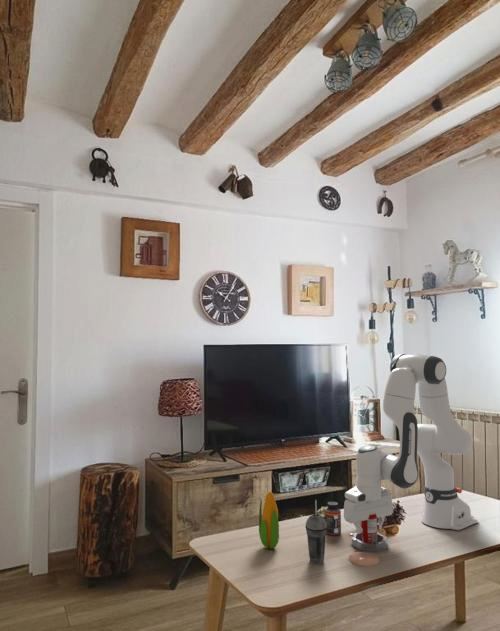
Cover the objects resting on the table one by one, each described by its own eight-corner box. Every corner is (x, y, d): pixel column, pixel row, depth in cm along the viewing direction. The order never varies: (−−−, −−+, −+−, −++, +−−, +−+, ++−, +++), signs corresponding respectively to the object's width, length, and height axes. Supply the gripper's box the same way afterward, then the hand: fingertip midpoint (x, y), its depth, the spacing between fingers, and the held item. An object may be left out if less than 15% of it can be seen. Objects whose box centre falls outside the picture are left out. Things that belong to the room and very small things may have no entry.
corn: (264, 554, 175) (264, 496, 176) (255, 546, 182) (255, 490, 183) (284, 551, 178) (283, 493, 179) (274, 543, 185) (273, 487, 186)
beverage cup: (305, 566, 166) (304, 504, 167) (306, 557, 173) (305, 497, 174) (328, 567, 165) (327, 505, 166) (327, 558, 172) (326, 498, 173)
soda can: (364, 540, 186) (364, 507, 187) (379, 543, 184) (378, 509, 184) (359, 545, 182) (358, 511, 182) (374, 549, 179) (373, 514, 179)
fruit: (321, 525, 207) (323, 504, 210) (339, 530, 201) (342, 508, 203) (306, 523, 202) (309, 502, 204) (325, 527, 195) (328, 506, 198)
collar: (371, 536, 191) (371, 527, 191) (393, 547, 180) (393, 538, 180) (343, 542, 185) (343, 533, 185) (365, 554, 174) (365, 545, 174)
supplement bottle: (340, 536, 190) (340, 506, 191) (324, 535, 191) (324, 505, 192) (341, 530, 196) (340, 501, 197) (325, 529, 197) (325, 500, 198)
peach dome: (365, 551, 177) (365, 549, 177) (385, 562, 168) (385, 560, 168) (342, 557, 172) (342, 555, 172) (362, 568, 163) (362, 567, 163)
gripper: (384, 485, 191) (385, 523, 190) (340, 493, 182) (341, 533, 181) (396, 490, 185) (397, 528, 185) (352, 498, 176) (352, 539, 175)
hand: (369, 531), depth 183 cm, fingers open, 8 cm apart
